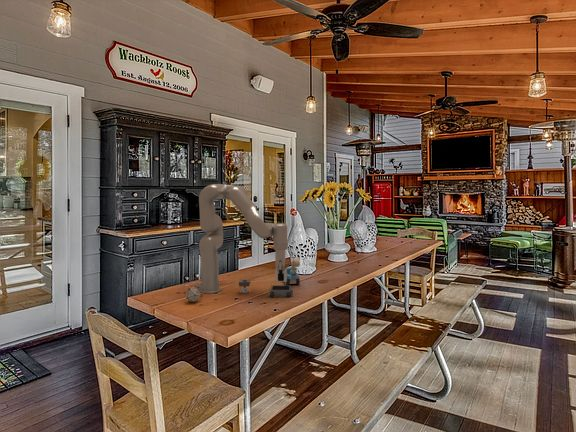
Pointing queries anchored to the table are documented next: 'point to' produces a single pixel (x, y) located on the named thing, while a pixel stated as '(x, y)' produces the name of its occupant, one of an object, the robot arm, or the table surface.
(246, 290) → the axle mount
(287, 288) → the chassis
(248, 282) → the wheel
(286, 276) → the engine block
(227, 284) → the table surface
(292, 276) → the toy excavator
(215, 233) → the robot arm
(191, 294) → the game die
